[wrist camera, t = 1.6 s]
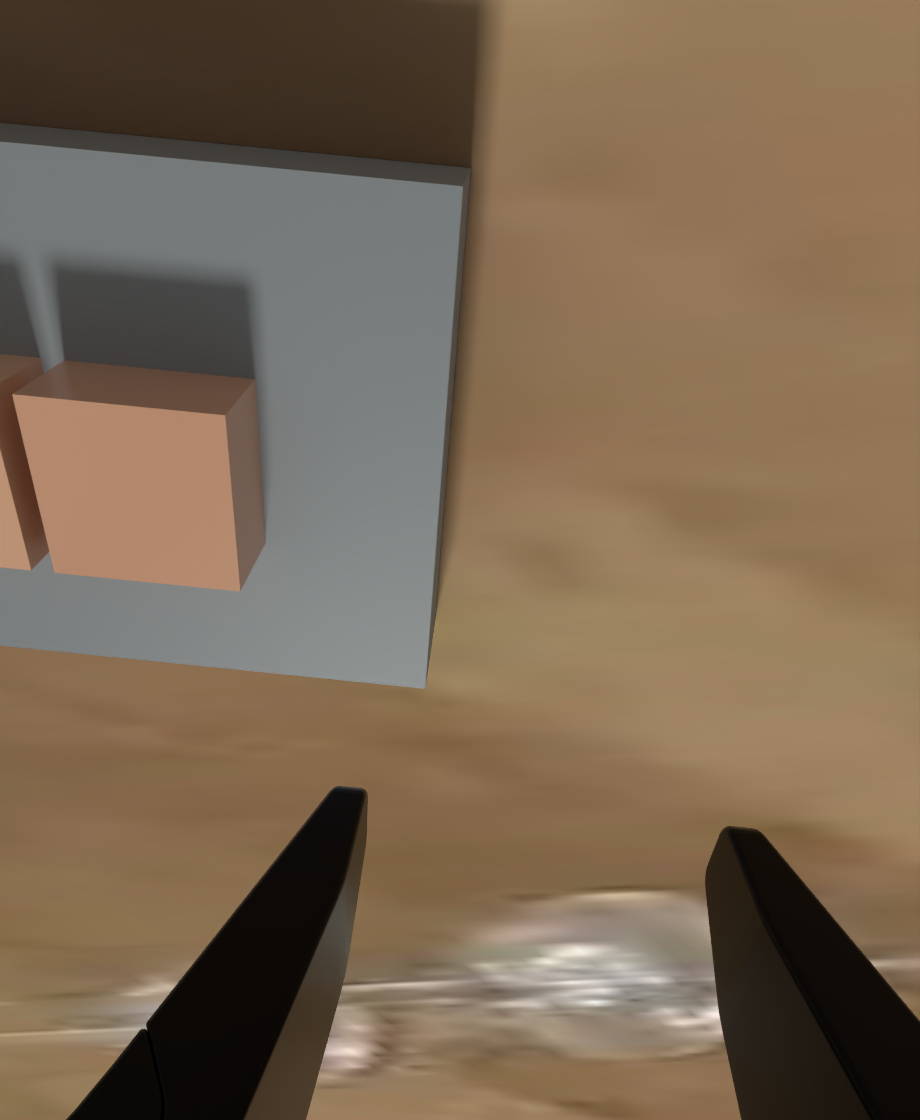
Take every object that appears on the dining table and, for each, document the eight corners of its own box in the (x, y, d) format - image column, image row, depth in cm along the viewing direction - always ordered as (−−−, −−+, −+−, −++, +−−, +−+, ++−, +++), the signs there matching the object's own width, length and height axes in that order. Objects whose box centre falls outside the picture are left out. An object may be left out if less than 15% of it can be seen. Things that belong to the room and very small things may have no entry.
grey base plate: (435, 620, 23) (425, 688, 20) (-36, 572, 23) (-104, 634, 21) (470, 168, 17) (462, 186, 14) (-182, 105, 17) (-306, 112, 14)
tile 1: (265, 543, 18) (240, 591, 17) (96, 526, 18) (54, 572, 17) (255, 379, 16) (225, 415, 15) (64, 360, 16) (12, 394, 15)
